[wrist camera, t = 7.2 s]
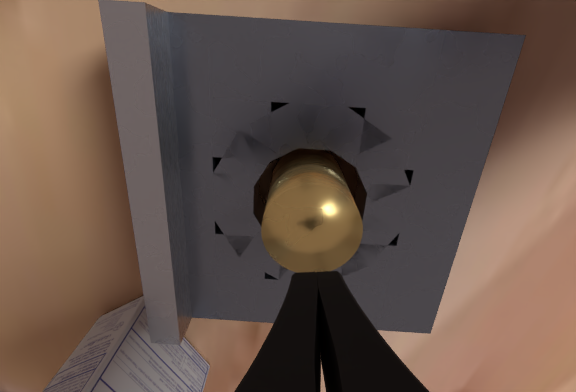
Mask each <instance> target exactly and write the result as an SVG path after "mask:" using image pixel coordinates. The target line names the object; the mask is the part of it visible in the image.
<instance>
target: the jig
mask: <svg viewBox="0 0 576 392" xmlns="http://www.w3.org/2000/svg"><path fill="white" fill-rule="evenodd" d="M98 1H99V8H100V14H101V21H102V27H103V34H104V40H105V47H106V53H107V60H108V66H109V73H110V79H111V86H112V92H113V99H114V106H115V112H116V119H117V125H118V132H119V138H120V145H121V151H122V158H123V164H124V171H125V177H126V184H127V190H128V197H129V203H130V210H131V216H132V223H133V230H134V236H135V243H136V249H137V256H138V262H139V269H140V275H141V282H142V288H143V295H144V301H145V308H146V314H147V321H148V327H149V334H150V340H151V343H158V344H173V345H180V344H181V342H182V340H183V337H184V335H185V333H186V330H187V328H188V325H189V323H190V321H191V318H192V317H193V318H208V319H223V320H237V321H252V322H267V323H274V322H275V320H276V318H277V315H278V313H279V311H280V309H281V307H282V304H283V302H284V299H285V297H286V294H287V291H288V288H289V285H290V281H291V277H292V275H293V274H294V273H297V272H293V271H291V270H288V269H286V268H284V267H283V266H281V265H280V264H278V263H277V262H276V261H275V260H274V259H273V258H272V257H271V256H270V255H269V253H268V252H267V250H266V248H265V246H264V244H263V241H262V235H261V226H262V220H263V216H264V211H265V207H266V206H265V204H264V203H263V201H262V199H261V197H260V196H259V178H260V176H261V175H262V173H263V172H264V170H265V169H266V167H267V166H268V164H269V162H271V161H273V160H275V159H277V158H279V157H281V156H283V155H285V154H287V153H289V152H291V151H293V150H296V149H298V148H304V149H319V150H331V151H332V152H334V153H335V154H337V155H338V156H340V157H341V158H343V159H344V160H346V161H347V162H349V163H350V164H351V165H353V167H354V169H355V171H356V173H357V176H358V180H357V187H356V193H355V200H354V201H355V204H356V206H357V208H358V211H359V213H360V216H361V219H362V224H363V234H362V239H361V243H360V245H359V247H358V249H357V251H356V252H355V254H354V255H353V256H352V257H351V258H350V259H349V260H348V261H347V262H346V263H345V264H343V265H342V266H340V267H338V268H337V269H334V270H332V271H338V272H339V273H340V274H341V275H342V277H343V279H344V281H345V283H346V285H347V286H348V288H349V290H350V291H351V293H352V295H353V296H354V298H355V299H356V301H357V303H358V304H359V306H360V307H361V309H362V310H363V312H364V313H365V314H366V316H367V317H368V319H369V320H370V321H371V323H372V324H373V325H374V327H375V328H376V330H385V331H400V332H414V333H429V334H430V333H431V330H432V327H433V324H434V320H435V317H436V314H437V311H438V308H439V305H440V302H441V299H442V295H443V292H444V289H445V286H446V283H447V280H448V277H449V274H450V270H451V267H452V264H453V261H454V258H455V255H456V252H457V249H458V245H459V242H460V239H461V236H462V233H463V230H464V227H465V224H466V220H467V217H468V214H469V211H470V208H471V205H472V202H473V199H474V195H475V192H476V189H477V186H478V183H479V180H480V177H481V174H482V170H483V167H484V164H485V161H486V158H487V155H488V152H489V148H490V145H491V142H492V139H493V136H494V133H495V130H496V127H497V123H498V120H499V117H500V114H501V111H502V108H503V105H504V102H505V98H506V95H507V92H508V89H509V86H510V83H511V80H512V77H513V73H514V70H515V67H516V64H517V61H518V58H519V55H520V52H521V48H522V45H523V42H524V39H525V36H526V35H513V34H498V33H482V32H467V31H451V30H436V29H420V28H405V27H389V26H374V25H359V24H343V23H328V22H312V21H297V20H281V19H266V18H250V17H235V16H219V15H204V14H188V13H173V12H166V11H164V10H161V9H159V8H157V7H154V6H152V5H149V4H147V3H144V2H129V1H113V0H98ZM275 102H282V103H280V104H278V105H276V106H275ZM349 107H355V111H354V110H352V109H351V108H349Z"/></svg>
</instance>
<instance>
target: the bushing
mask: <svg viewBox="0 0 576 392" xmlns="http://www.w3.org/2000/svg"><path fill="white" fill-rule="evenodd" d="M362 234H363V224H362V219H361V216H360V213H359V211H358V208H357V206H356V204H355V201H354V199H353V197H352V194H351V192H350V190H349V187H348V185H347V183H346V180H345V178H344V176H343V173H342V171H341V169H340V166H339V164H338V162H337V161H336V160H335V158H334V157H333V156H332V155H330V154H329V153H328V152H326V151H325V150H319V149H304V148H298V149H296V150H293V151H291V152H289V153H287V154H285V155H284V156H282V157H281V159H280V160H279V161H278V163H277V164H276V166H275V168H274V171H273V175H272V180H271V184H270V189H269V193H268V198H267V202H266V207H265V211H264V216H263V220H262V226H261V235H262V241H263V244H264V246H265V248H266V250H267V252H268V253H269V255H270V256H271V257H272V258H273V259H274V260H275V261H276V262H277V263H278V264H280V265H281V266H283V267H284V268H286V269H288V270H291V271H293V272H297V273H298V272H323V271H332V270H334V269H337V268H338V267H340V266H342V265H343V264H345V263H346V262H347V261H348V260H349V259H350V258H351V257H352V256H353V255H354V254H355V252H356V251H357V249H358V247H359V245H360V243H361V239H362Z"/></svg>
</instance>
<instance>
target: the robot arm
mask: <svg viewBox="0 0 576 392" xmlns="http://www.w3.org/2000/svg"><path fill="white" fill-rule="evenodd" d="M320 352H321V353H320ZM321 363H322V369H323V375H324V381H325V387H326V392H429V391H428V390H427V389H426V388H425V386H424V385H423V384H422V383H421V382H420V381H419V380H418V379H417V378H416V377H415V376H414V375H413V373H412V372H411V371H410V370H409V369H408V368H407V367H406V365H405V364H404V363H403V362H402V361H401V360H400V358H399V357H398V356H397V355H396V354H395V352H394V351H393V350H392V349H391V347H390V346H389V345H388V344H387V343H386V341H385V340H384V339H383V337H382V336H381V335H380V334H379V332H378V331H377V330H376V328H375V327H374V325H373V324H372V323H371V321H370V320H369V319H368V317H367V316H366V314H365V313H364V312H363V310H362V309H361V307H360V306H359V304H358V303H357V301H356V299H355V298H354V296H353V295H352V293H351V291H350V290H349V288H348V286H347V285H346V283H345V281H344V279H343V277H342V275H341V274H340V273H339V272H338V271H323V272H298V273H294V274H293V275H292V277H291V281H290V285H289V288H288V291H287V294H286V297H285V299H284V302H283V304H282V307H281V309H280V311H279V313H278V315H277V318H276V320H275V322H274V324H273V326H272V328H271V330H270V332H269V334H268V336H267V338H266V340H265V342H264V343H263V345H262V347H261V349H260V351H259V353H258V354H257V356H256V358H255V360H254V361H253V363H252V365H251V366H250V368H249V370H248V371H247V373H246V375H245V376H244V378H243V379H242V381H241V382H240V384H239V385H238V387H237V388H236V390H235V392H320V382H321Z"/></svg>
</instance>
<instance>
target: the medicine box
mask: <svg viewBox="0 0 576 392" xmlns="http://www.w3.org/2000/svg"><path fill="white" fill-rule="evenodd" d="M209 368H210V366H209V364H208V363H207V362H206V361H205V360H204V359H203V357H202V356H201V355H200V354H199V353H198V352H197V351H196V350H195V349H194V348H193V346H192V345H191V344H190V343H189V342H188V341H187V340H186V339H185V338H184V337H183V340H182V342H181V344H180V345H173V344H158V343H151V340H150V334H149V327H148V321H147V314H146V308H145V301H144V296H142V297H140V298H138V299H136V300H133V301H131V302H129V303H127V304H125V305H123V306H121V307H119V308H117V309H115V310H113V311H111V312H109V313H107V314H105V315H102V316H101V317H99V318H98V320H97V321H96V322H95V324H94V325H93V326H92V328H91V329H90V330H89V332H88V333H87V334H86V335H85V337H84V338H83V339H82V341H81V342H80V343H79V345H78V346H77V347H76V349H75V350H74V351H73V353H72V354H71V355H70V356H69V358H68V359H67V360H66V362H65V363H64V364H63V366H62V367H61V368H60V369H59V371H58V372H57V373H56V375H55V376H54V377H53V378H52V380H51V381H50V382H49V384H48V385H47V386H46V388H45V389H44V390H43V391H42V392H203V389H204V386H205V382H206V378H207V375H208V371H209Z"/></svg>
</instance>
